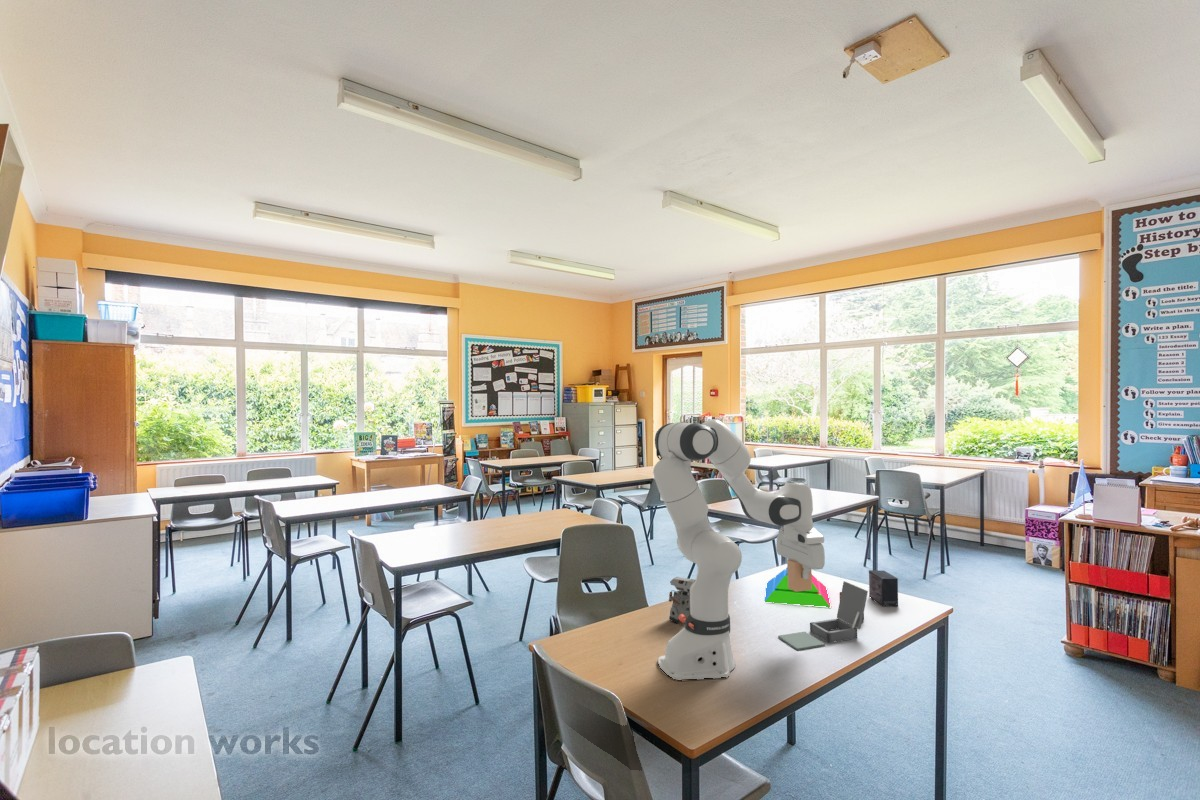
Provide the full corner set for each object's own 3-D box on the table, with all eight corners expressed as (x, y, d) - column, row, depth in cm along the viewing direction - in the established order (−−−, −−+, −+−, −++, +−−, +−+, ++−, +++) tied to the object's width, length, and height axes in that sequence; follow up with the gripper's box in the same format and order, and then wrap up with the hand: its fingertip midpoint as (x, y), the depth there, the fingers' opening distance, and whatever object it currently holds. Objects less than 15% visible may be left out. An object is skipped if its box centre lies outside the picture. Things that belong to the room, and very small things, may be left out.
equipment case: (829, 643, 174) (828, 595, 174) (809, 631, 184) (808, 585, 184) (869, 636, 178) (867, 590, 178) (847, 625, 188) (846, 580, 188)
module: (795, 591, 173) (794, 563, 173) (787, 587, 177) (787, 559, 177) (811, 589, 175) (811, 561, 175) (803, 585, 179) (803, 557, 179)
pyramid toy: (765, 584, 234) (764, 550, 234) (828, 589, 226) (827, 554, 226) (762, 604, 211) (761, 567, 211) (833, 611, 203) (832, 572, 203)
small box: (899, 606, 204) (899, 578, 204) (882, 606, 204) (881, 578, 204) (885, 596, 214) (884, 569, 215) (868, 597, 215) (867, 569, 215)
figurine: (688, 629, 187) (687, 585, 187) (666, 619, 197) (665, 576, 197) (708, 623, 192) (707, 580, 192) (685, 613, 202) (685, 572, 202)
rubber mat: (797, 650, 170) (797, 648, 170) (778, 637, 179) (778, 635, 179) (824, 645, 172) (824, 643, 172) (804, 633, 182) (804, 631, 182)
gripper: (771, 526, 185) (771, 567, 185) (810, 540, 166) (811, 586, 166) (787, 525, 187) (788, 566, 187) (828, 538, 167) (829, 584, 167)
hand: (799, 575), depth 176 cm, fingers closed on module, 4 cm apart
